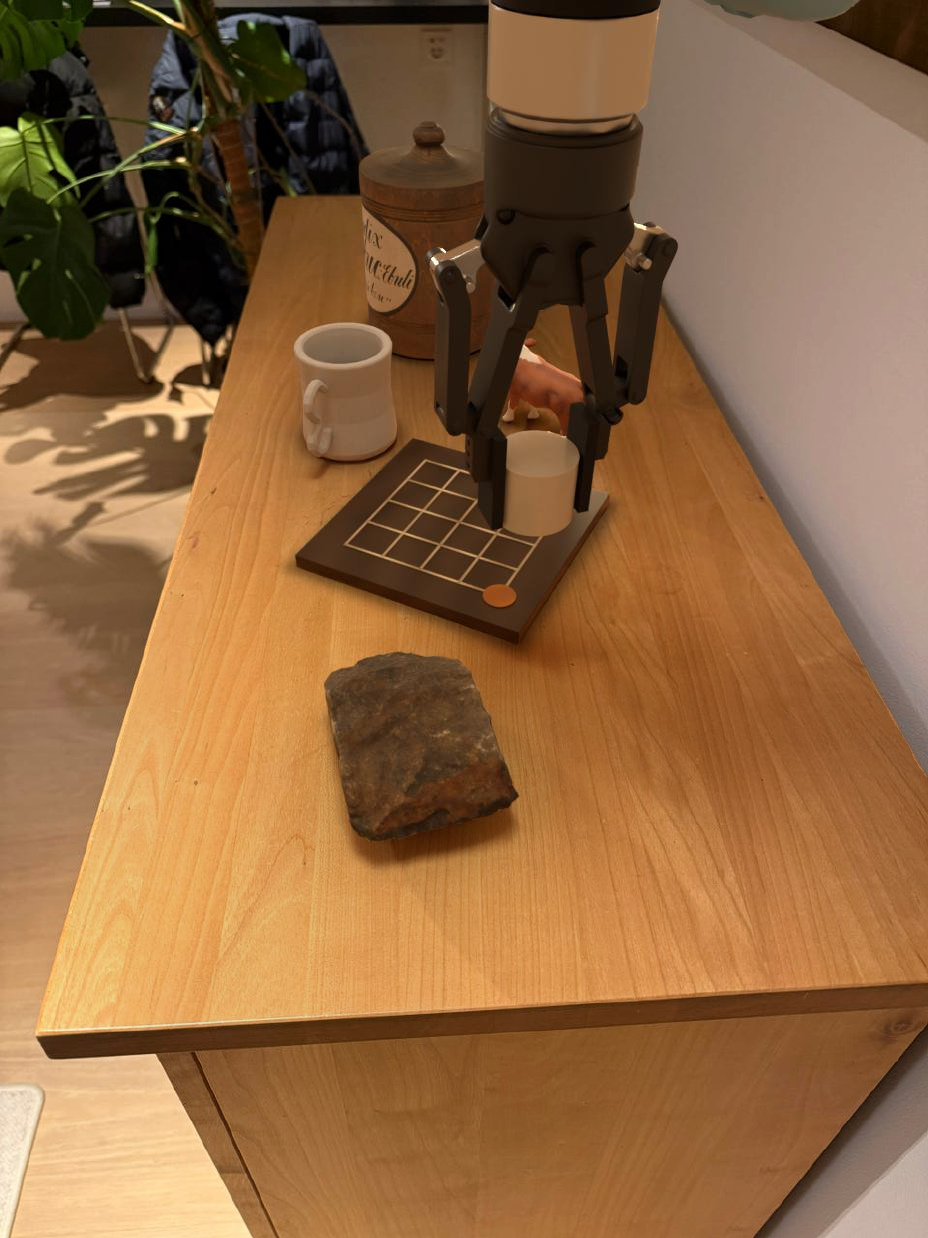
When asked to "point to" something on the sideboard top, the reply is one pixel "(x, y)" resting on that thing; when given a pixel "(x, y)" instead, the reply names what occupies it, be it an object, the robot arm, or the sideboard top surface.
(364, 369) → the mug
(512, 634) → the grid board
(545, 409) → the bull figurine
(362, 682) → the stone
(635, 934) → the sideboard top surface
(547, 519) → the white short cylinder
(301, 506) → the sideboard top surface
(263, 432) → the sideboard top surface
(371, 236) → the wooden container
